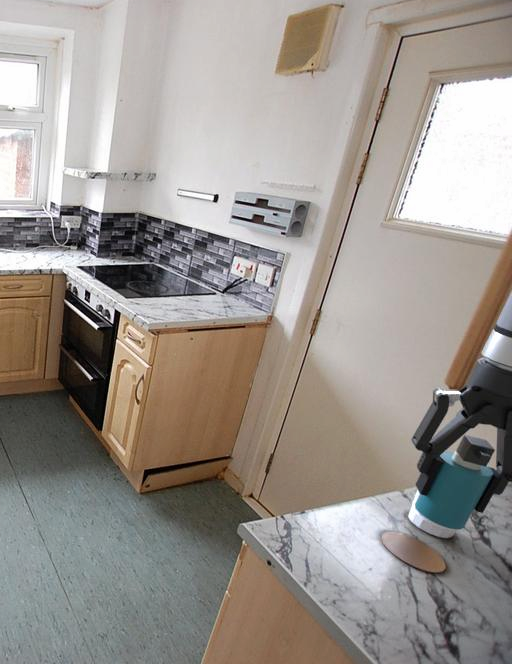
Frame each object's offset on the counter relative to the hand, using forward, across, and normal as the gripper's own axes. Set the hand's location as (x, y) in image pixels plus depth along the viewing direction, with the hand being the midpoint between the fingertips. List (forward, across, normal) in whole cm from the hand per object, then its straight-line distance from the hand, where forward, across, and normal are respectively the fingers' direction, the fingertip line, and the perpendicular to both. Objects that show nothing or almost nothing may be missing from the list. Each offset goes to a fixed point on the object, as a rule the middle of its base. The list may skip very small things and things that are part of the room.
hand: (447, 498), depth 72 cm
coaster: (+16, +2, +8) cm, 18 cm away
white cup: (+17, +8, +18) cm, 26 cm away
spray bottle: (+3, 0, 0) cm, 3 cm away
